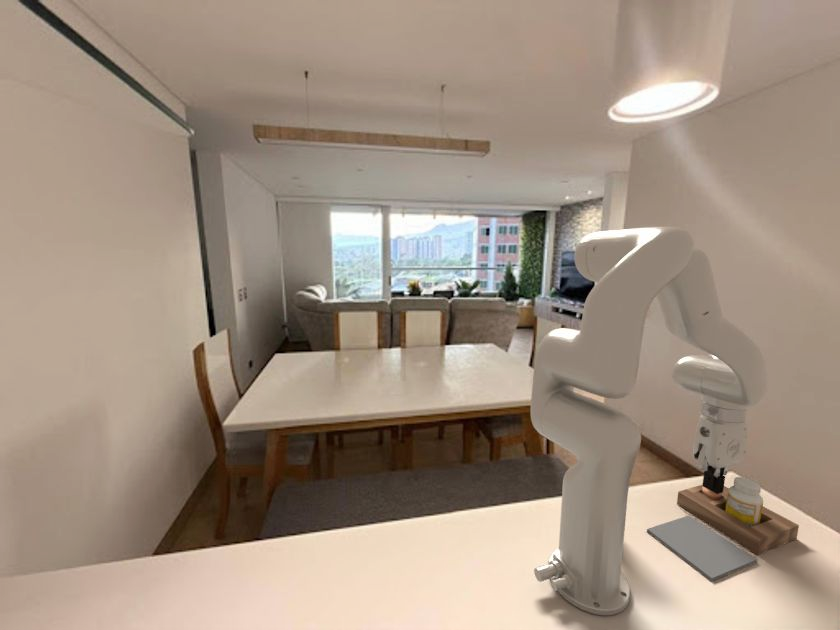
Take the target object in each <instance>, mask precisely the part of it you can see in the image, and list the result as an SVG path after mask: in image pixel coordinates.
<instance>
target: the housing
mask: <svg viewBox="0 0 840 630" xmlns="http://www.w3.org/2000/svg"><path fill="white" fill-rule="evenodd" d="M702 488H703V484H700V485H696V486H693V487H690V488H686V489H682V490H679V491H678V492H677V501H676V505H678V506H679V507H681V508H683V509H684V510H686V511H687V512H689V513H690V514H692V515H694V516H695V517H697V518H698V519H699V520H702V522H704V523H706V524H708V525H709V526H711V527H712V528H714V529H716V530H717V531H719V532H721V533H722V534H724V535H725V536H726V537H728V538H730V540H733V541H735V543H738V545H741V546H742V547H744V548H746V549H747V550H748V551H750V552H751V553H752V554H755V555H756V556H759V555H760V554H764V553H767V552H768V551H771V550H773V549H776V548H778V547H781V546H783V545H785V544H787V543H791V542H792V541H796V540H797V538H798V535H799V534H798V532H799V527H800V525H799V524H797V523H796V522H794V521H792V520H789V519H788V518H786V517H784V516H782V515H780V514H778V513H777V512H775V511H773V510H771V509H769V508H767V507H765V506H763V507H762V513H761V519H760V524H758V525H756V526H753V527H751V526H749V525H747V524H746V523H744V522H742V521H741V520H739V519H737V518H735V517H734V516H732V515H730V514H729V513H727V512H725V510H726V502H727V495H728V489H729V488H730V487H727V486H725V485H724V489H723V492H722V493H721V498H719V499H718V500H715V501H714V500H712V499H711V498H709V497H707V496H705V495H704V494H703V492H702Z"/></svg>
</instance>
